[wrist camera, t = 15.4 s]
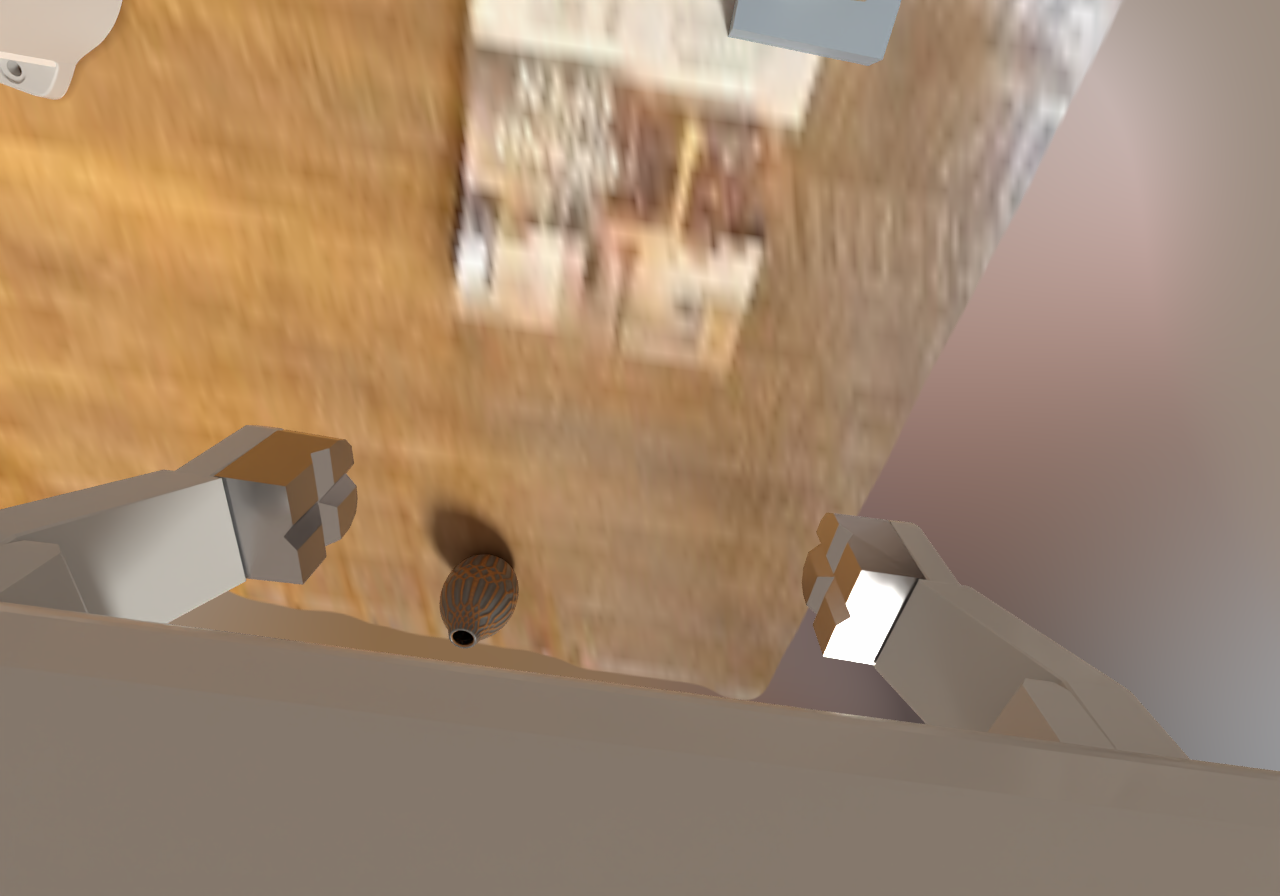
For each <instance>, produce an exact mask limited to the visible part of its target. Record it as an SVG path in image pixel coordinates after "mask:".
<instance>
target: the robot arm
mask: <svg viewBox="0 0 1280 896" xmlns="http://www.w3.org/2000/svg"><path fill="white" fill-rule="evenodd" d="M121 4H122V0H0V83H2V84H4V85H7V86H10V87H13V88H15V89H18V90H21V91H23V92H26V93H29V94H31V95H34V96H38V97H43V98H48V99H54V100H56V99H60V98H62V97H63V96H64V95H65V93H66V92H67V90H68V87H69V85H70V82H71V79H72V76H73V73H74V70H75V66H76V64H77V63H78V61H79V60H80V59H81V58H82V57H83V56H84V55H86V54H87V53H89V52H90V51H91V50H93V49H94V48H95V47H97V46H98V45H99V44H100V43H101V42H102V41H103V40H104V39H105V38H106V36H107V35H108V34H109V32H110V31H111V29H112V27H113V26H114V24H115V22H116V19H117V17H118V14H119V11H120V8H121ZM19 66H20V68H21V71H22V73H21V72H20V70H19ZM353 464H354V460H353V453H352V446H351V445H350V444H349V443H348V442H347V441H346V440H345V439H339V438H333V437H327V436H321V435H315V434H309V433H303V432H297V431H291V430H284V429H281V428H274V427H267V426H259V425H246V426H244V427H243V428H241V429H239V430H238V431H236V432H235V433H233V434H232V435H230V436H229V437H227V438H225V439H224V440H222V441H221V442H219V443H218V444H216V445H215V446H213V447H211V448H210V449H208V450H207V451H205V452H204V453H202V454H201V455H199V456H197V457H196V458H194V459H193V460H191V461H190V462H188V463H186V464H185V465H183V466H182V467H180V468H179V469H177V470H176V471H170V470H160V471H156V472H152V473H148V474H144V475H140V476H136V477H132V478H128V479H124V480H120V481H115V482H111V483H107V484H103V485H99V486H95V487H91V488H87V489H83V490H79V491H75V492H71V493H66V494H62V495H58V496H54V497H50V498H46V499H42V500H38V501H34V502H30V503H26V504H22V505H17V506H13V507H9V508H5V509H1V510H0V896H1280V771H1273V770H1265V769H1258V768H1250V767H1243V766H1235V765H1227V764H1220V763H1212V762H1205V761H1197V760H1190V759H1189V758H1188V756H1187V755H1186V754H1185V753H1184V752H1183V751H1182V750H1181V748H1180V747H1179V746H1178V745H1177V744H1176V743H1175V742H1174V741H1173V740H1172V738H1171V737H1170V736H1169V735H1168V734H1167V733H1166V731H1165V730H1164V729H1163V728H1162V727H1161V726H1160V724H1159V723H1158V722H1157V721H1156V720H1155V719H1154V718H1153V717H1152V716H1151V714H1150V713H1149V712H1148V711H1147V710H1146V709H1145V708H1144V706H1143V705H1142V704H1141V703H1140V702H1139V701H1138V699H1137V698H1136V697H1135V696H1134V695H1133V694H1132V693H1131V691H1129V690H1128V689H1126V688H1125V687H1123V686H1122V685H1120V684H1119V683H1117V682H1116V681H1114V680H1113V679H1111V678H1109V677H1108V676H1106V675H1105V674H1103V673H1102V672H1100V671H1099V670H1097V669H1096V668H1094V667H1093V666H1091V665H1089V664H1088V663H1086V662H1085V661H1083V660H1082V659H1080V658H1079V657H1077V656H1076V655H1074V654H1073V653H1071V652H1069V651H1068V650H1066V649H1065V648H1063V647H1062V646H1060V645H1059V644H1057V643H1056V642H1054V641H1053V640H1051V639H1050V638H1048V637H1046V636H1045V635H1043V634H1042V633H1040V632H1039V631H1037V630H1036V629H1034V628H1033V627H1031V626H1029V625H1028V624H1026V623H1025V622H1023V621H1022V620H1020V619H1019V618H1017V617H1016V616H1014V615H1013V614H1011V613H1009V612H1008V611H1006V610H1005V609H1003V608H1002V607H1000V606H999V605H997V604H996V603H994V602H993V601H991V600H990V599H988V598H987V597H985V596H983V595H982V594H980V593H978V592H977V591H976V590H974V589H973V588H971V587H968V586H963V585H960V584H959V583H958V581H957V580H956V578H955V577H954V575H953V574H952V573H951V571H950V570H949V568H948V567H947V565H946V564H945V563H944V561H943V560H942V558H941V557H940V555H939V554H938V553H937V551H936V550H935V548H934V547H933V546H932V544H931V543H930V541H929V540H928V539H927V537H926V536H925V534H924V533H923V531H922V530H921V529H920V527H919V526H917V525H915V524H913V523H910V522H900V521H892V520H883V519H874V518H867V517H858V516H850V515H842V514H834V513H826V514H825V515H824V517H823V518H822V519H821V521H820V524H819V526H818V529H817V531H816V532H817V535H818V537H819V540H820V542H821V544H819V545H818V546H817V547H815V548H814V549H812V550H811V551H810V552H808V555H807V558H806V561H805V564H804V567H803V576H802V589H803V596H804V599H805V602H806V605H807V606H808V607H809V608H810V609H811V610H812V611H813V612H815V613H816V614H817V616H816V618H815V621H814V623H813V627H814V630H815V633H816V636H817V639H818V642H819V645H820V647H821V650H822V654H823V656H826V657H832V658H838V659H844V660H850V661H856V662H862V663H868V664H874V668H875V669H876V670H877V671H878V672H879V673H880V674H881V675H882V676H883V677H884V679H885V680H886V681H887V682H888V683H889V684H890V685H891V686H892V687H893V688H894V689H895V691H896V692H897V693H898V694H899V695H900V696H901V697H902V698H903V699H904V700H905V701H906V703H907V704H908V705H909V706H910V707H911V708H912V709H913V710H914V711H915V712H916V713H917V715H919V717H920V718H921V719H922V720H923V721H924V722H925V723H926V724H927V725H926V724H917V723H910V722H902V721H895V720H888V719H879V718H872V717H865V716H857V715H850V714H842V713H835V712H828V711H820V710H813V709H805V708H797V707H790V706H783V705H775V704H768V703H760V702H753V701H745V700H738V699H730V698H723V697H715V696H708V695H701V694H693V693H685V692H678V691H670V690H663V689H655V688H648V687H641V686H633V685H625V684H617V683H610V682H603V681H595V680H587V679H580V678H572V677H565V676H556V675H549V674H542V673H533V672H526V671H519V670H511V669H503V668H496V667H488V666H480V665H473V664H466V663H458V662H451V661H443V660H436V659H428V658H421V657H413V656H406V655H397V654H391V653H383V652H375V651H368V650H361V649H352V648H346V647H338V646H330V645H323V644H316V643H308V642H301V641H292V640H286V639H277V638H270V637H263V636H256V635H248V634H241V633H233V632H226V631H218V630H211V629H203V628H196V627H188V626H180V625H173V624H167V623H168V622H170V621H172V620H174V619H176V618H178V617H180V616H182V615H183V614H185V613H187V612H189V611H191V610H192V609H195V608H196V607H198V606H200V605H202V604H204V603H206V602H208V601H209V600H211V599H213V598H215V597H217V596H219V595H221V594H223V593H225V592H226V591H228V590H230V589H232V588H234V587H236V586H238V585H239V584H241V583H243V582H245V581H246V578H248V579H257V580H267V581H276V582H285V583H294V584H304V583H305V582H306V580H307V579H308V578H309V577H310V576H311V574H312V573H313V572H314V571H315V570H316V569H317V567H318V566H319V565H320V564H321V563H322V561H323V560H324V559H325V558H326V550H325V546H327V545H329V544H331V543H333V542H336V541H338V540H340V539H342V537H343V536H344V535H345V533H346V532H347V531H348V530H349V528H350V526H351V524H352V521H353V519H354V516H355V514H356V508H357V499H358V498H357V487H356V485H355V484H354V483H353V481H352V480H351V479H350V478H349V477H348V475H347V474H346V473H347V472H348V470H349V469H350V468H351V467H352V465H353Z"/></svg>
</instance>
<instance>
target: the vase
mask: <svg viewBox="0 0 1280 896" xmlns="http://www.w3.org/2000/svg"><path fill="white" fill-rule="evenodd" d="M518 591H519V588H518V580H517V577H516V574H515V572H514V570H513V569H512V568H511V566H510V565H509V564H508V563H507V562H506V561H504V560H503V559H501V558H499V557H497V556H493V555H488V554H481V555H475V556H472V557H469V558H467V559H465V560H464V561H462V562H461V563H460V564H458V565H457V566H456V567H455V568H454V569H453V570H452V571H451V573H450V574H449V576H448V578H447V579H446V581H445V583H444V585H443V588H442V591H441V596H440V613H441V617H442V620H443V622H444V624H445V626H446V628H447V629H448V633H449V639H450V641H451V642H452V643H453V644H454V645H455V646H458V647H460V648H470V647H472V646H474V645H475V644H476V643H477V642H479V641H480V640H483V639H485V638H488V637H490V636H492V635H494V634H495V633H497V632H498V631H499V630H500V629H502V628H503V626H504V625H505V624H506V623H507V622H508V620H509V619H510V617H511V616H512V614H513V612H514V610H515V607H516V603H517V599H518Z"/></svg>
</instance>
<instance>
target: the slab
mask: <svg viewBox="0 0 1280 896" xmlns="http://www.w3.org/2000/svg"><path fill="white" fill-rule="evenodd" d="M900 3H901V0H866V1H865V2H863V1H855V0H735V4H734V9H733V14H732V19H731V24H730V29H729V34H728V37H732V38H737V39H742V40H746V41H751V42H756V43H761V44H766V45H771V46H775V47H780V48H785V49H790V50H795V51H799V52H804V53H809V54H814V55H819V56H824V57H828V58H833V59H838V60H843V61H848V62H852V63H857V64H862V65H867V66H869V65H871V64H873V63H876V62H878V61H880V60H883V57H884V54H885V51H886V47H887V44H888V41H889V38H890V35H891V31H892V28H893V25H894V22H895V19H896V15H897V12H898V9H899V6H900Z"/></svg>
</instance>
